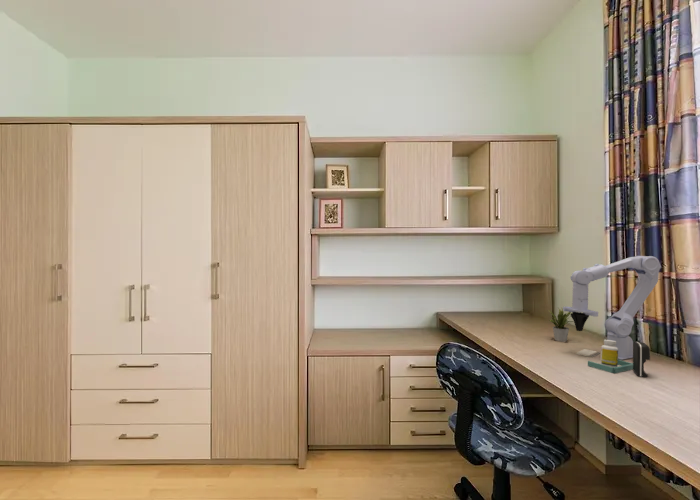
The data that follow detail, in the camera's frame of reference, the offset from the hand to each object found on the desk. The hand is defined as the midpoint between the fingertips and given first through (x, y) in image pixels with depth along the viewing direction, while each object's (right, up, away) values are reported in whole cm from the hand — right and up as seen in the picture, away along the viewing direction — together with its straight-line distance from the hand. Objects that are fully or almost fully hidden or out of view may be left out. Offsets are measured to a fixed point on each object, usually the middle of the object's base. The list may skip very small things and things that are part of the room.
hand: (579, 330), depth 166 cm
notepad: (+5, -10, +2) cm, 12 cm away
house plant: (+7, -10, +25) cm, 28 cm away
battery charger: (+8, -11, -25) cm, 28 cm away
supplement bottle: (+2, -11, -16) cm, 19 cm away
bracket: (+3, -11, -17) cm, 20 cm away
